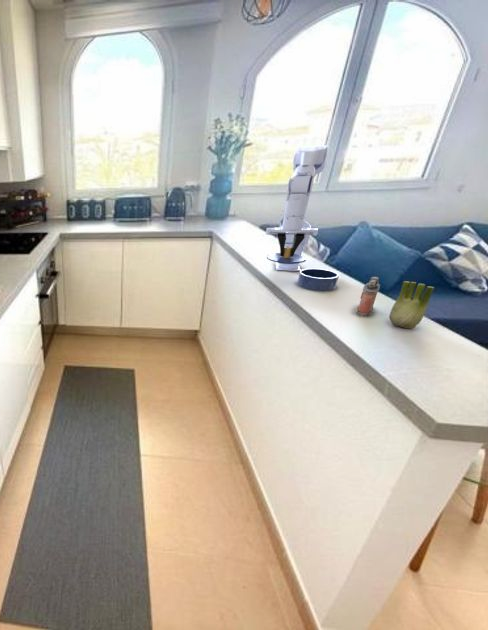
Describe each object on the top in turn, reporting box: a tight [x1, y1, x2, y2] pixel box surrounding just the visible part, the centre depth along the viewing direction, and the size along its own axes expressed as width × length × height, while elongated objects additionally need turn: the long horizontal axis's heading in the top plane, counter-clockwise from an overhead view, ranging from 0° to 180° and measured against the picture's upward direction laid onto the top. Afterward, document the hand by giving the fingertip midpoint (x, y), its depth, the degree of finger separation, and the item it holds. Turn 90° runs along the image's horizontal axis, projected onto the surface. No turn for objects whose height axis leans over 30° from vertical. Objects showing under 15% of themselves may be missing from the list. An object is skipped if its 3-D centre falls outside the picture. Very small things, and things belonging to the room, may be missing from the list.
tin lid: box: [266, 247, 307, 264], centre depth 118 cm, size 12×12×5 cm
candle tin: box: [297, 268, 340, 292], centre depth 118 cm, size 11×11×4 cm
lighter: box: [355, 276, 381, 317], centre depth 97 cm, size 8×3×10 cm, turn 135°
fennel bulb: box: [388, 280, 435, 329], centre depth 87 cm, size 6×5×12 cm
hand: (286, 255), depth 118 cm, fingers closed on tin lid, 2 cm apart
